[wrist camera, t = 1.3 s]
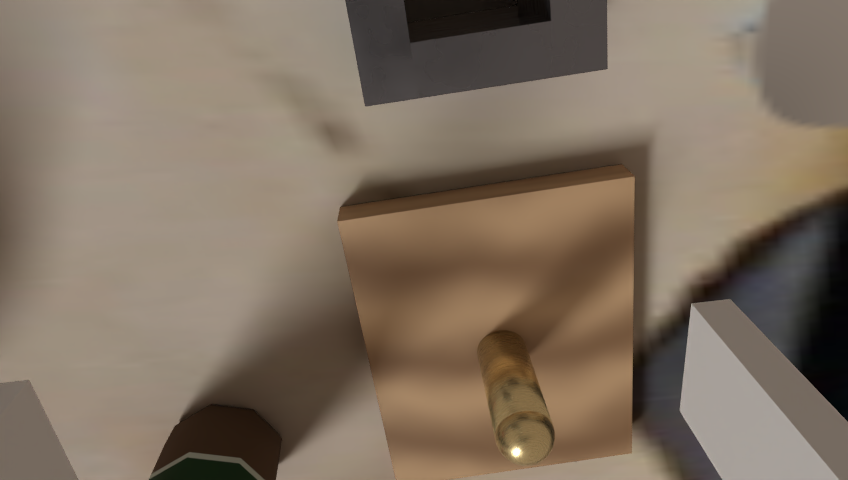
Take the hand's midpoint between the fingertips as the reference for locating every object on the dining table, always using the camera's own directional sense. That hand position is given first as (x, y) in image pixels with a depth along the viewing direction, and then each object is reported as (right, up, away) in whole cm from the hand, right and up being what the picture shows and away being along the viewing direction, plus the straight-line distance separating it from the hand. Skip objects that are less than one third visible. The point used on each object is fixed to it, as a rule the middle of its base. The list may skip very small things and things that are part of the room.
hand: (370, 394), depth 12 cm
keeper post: (+6, -4, +24) cm, 25 cm away
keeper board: (+6, -3, +26) cm, 27 cm away
